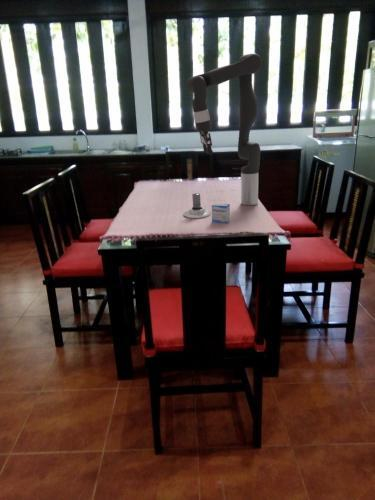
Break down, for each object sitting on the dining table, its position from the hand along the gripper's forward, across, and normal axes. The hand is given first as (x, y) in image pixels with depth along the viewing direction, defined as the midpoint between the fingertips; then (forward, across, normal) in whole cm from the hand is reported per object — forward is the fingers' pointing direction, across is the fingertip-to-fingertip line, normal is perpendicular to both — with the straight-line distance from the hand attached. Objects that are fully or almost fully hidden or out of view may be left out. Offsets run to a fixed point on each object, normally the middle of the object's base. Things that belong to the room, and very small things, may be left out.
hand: (208, 153), depth 199 cm
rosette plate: (+28, -6, +12) cm, 32 cm away
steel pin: (+28, -6, +12) cm, 31 cm away
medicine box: (+29, -22, +4) cm, 37 cm away
